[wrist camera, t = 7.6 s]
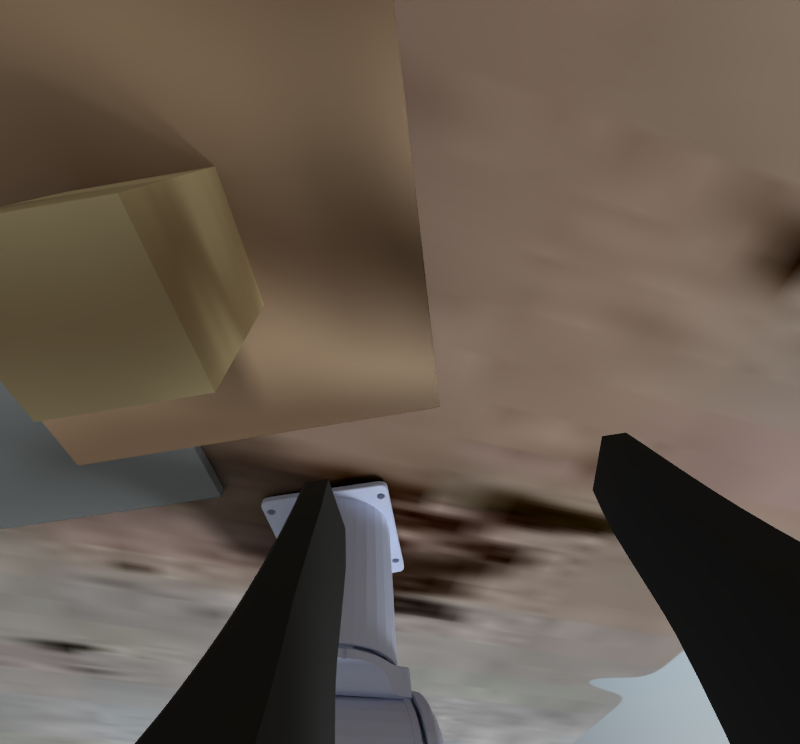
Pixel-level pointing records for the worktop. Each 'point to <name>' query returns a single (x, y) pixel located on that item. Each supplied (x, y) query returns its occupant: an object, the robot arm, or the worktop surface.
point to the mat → (87, 476)
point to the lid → (207, 221)
